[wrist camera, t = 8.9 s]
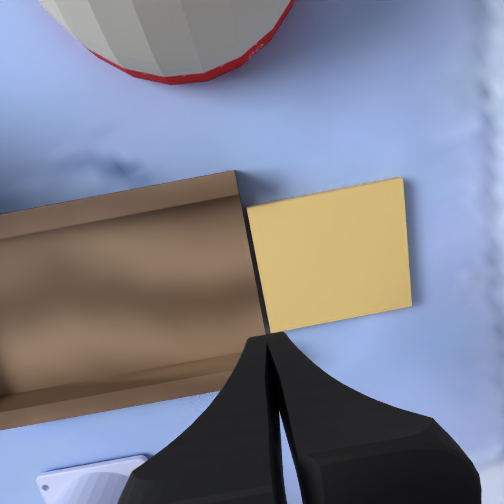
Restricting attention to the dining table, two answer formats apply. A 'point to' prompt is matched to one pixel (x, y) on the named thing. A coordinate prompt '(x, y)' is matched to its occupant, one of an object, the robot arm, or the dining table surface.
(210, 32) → the kitchen timer
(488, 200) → the dining table surface
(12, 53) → the dining table surface
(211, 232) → the walnut box
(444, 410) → the dining table surface
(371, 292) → the cover plate
